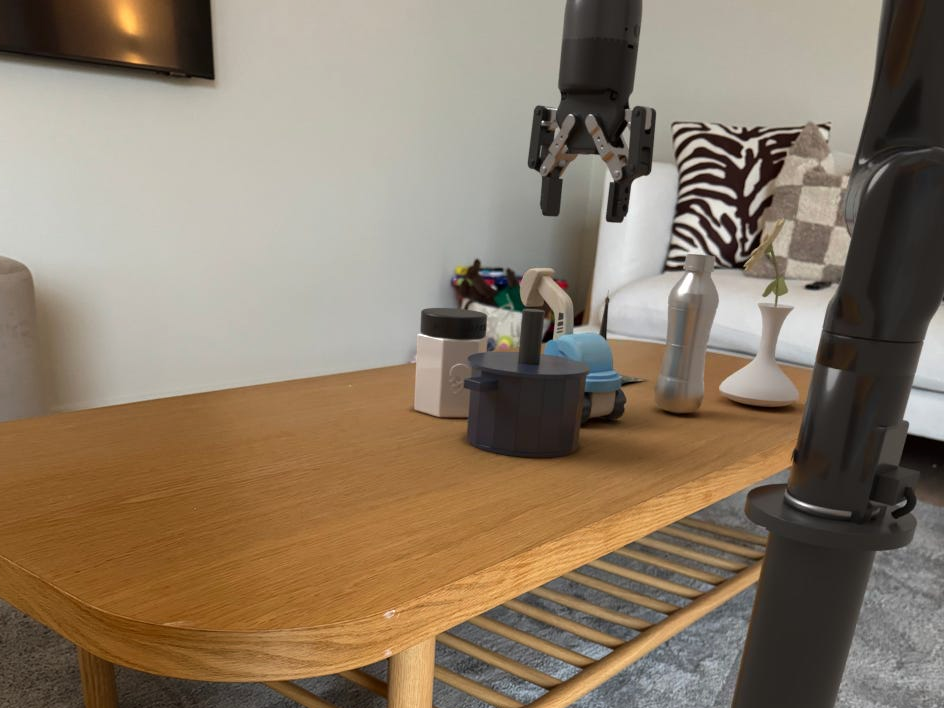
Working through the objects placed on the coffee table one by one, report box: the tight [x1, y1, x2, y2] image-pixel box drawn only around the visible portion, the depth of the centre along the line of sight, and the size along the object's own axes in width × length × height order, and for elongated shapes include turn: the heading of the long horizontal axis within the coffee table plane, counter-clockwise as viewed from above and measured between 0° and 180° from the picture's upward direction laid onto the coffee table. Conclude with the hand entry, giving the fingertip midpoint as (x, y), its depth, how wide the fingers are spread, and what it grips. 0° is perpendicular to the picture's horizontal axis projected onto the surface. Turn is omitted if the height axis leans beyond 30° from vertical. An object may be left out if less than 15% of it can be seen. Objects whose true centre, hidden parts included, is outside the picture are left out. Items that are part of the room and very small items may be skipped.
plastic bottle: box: [653, 253, 720, 415], centre depth 126 cm, size 6×7×20 cm
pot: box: [464, 367, 586, 459], centre depth 108 cm, size 13×18×8 cm
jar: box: [413, 307, 488, 419], centre depth 119 cm, size 9×8×12 cm
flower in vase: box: [718, 217, 800, 408], centre depth 134 cm, size 13×11×25 cm
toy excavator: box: [519, 267, 627, 425], centre depth 122 cm, size 9×17×17 cm, turn 37°
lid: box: [467, 308, 590, 379], centre depth 105 cm, size 14×14×7 cm
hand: (581, 219), depth 101 cm, fingers open, 8 cm apart
